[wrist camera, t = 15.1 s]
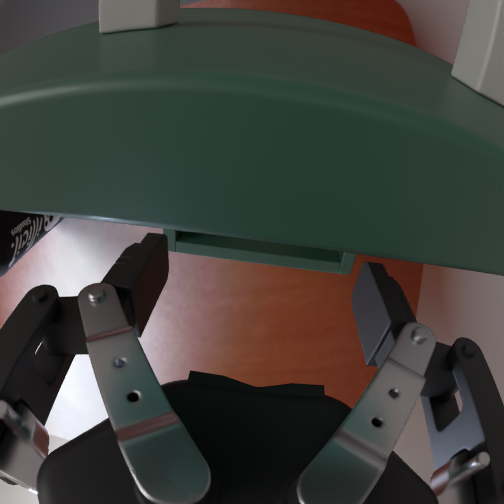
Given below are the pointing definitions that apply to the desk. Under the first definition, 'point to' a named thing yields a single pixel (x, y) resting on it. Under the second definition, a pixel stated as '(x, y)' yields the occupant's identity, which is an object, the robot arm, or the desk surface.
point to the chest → (259, 251)
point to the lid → (263, 131)
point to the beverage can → (21, 234)
